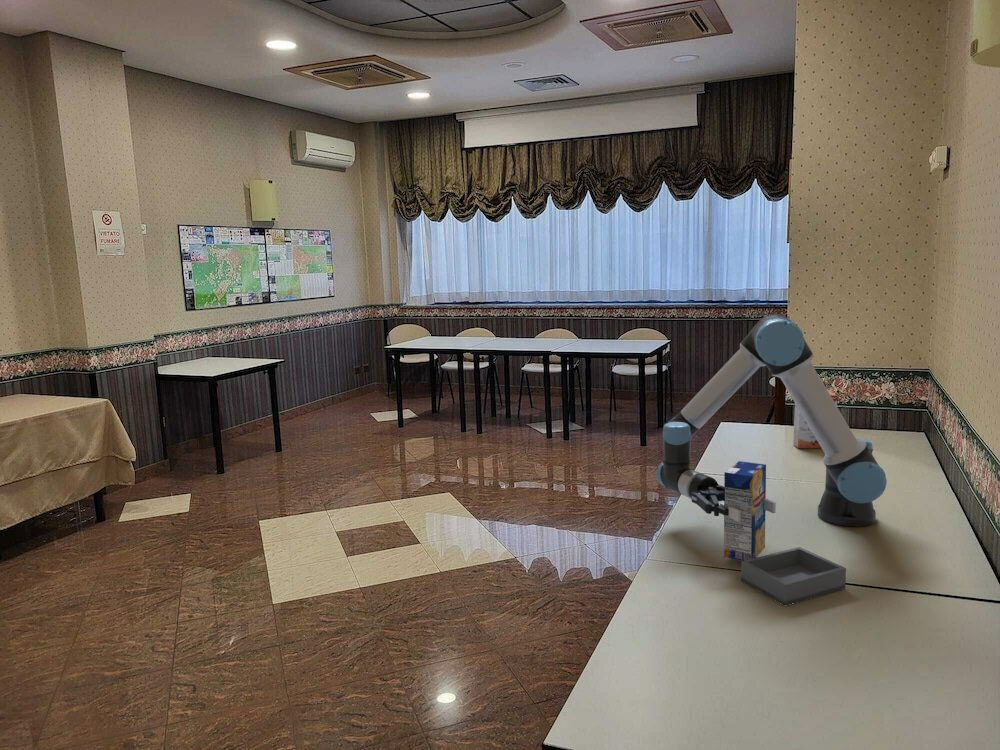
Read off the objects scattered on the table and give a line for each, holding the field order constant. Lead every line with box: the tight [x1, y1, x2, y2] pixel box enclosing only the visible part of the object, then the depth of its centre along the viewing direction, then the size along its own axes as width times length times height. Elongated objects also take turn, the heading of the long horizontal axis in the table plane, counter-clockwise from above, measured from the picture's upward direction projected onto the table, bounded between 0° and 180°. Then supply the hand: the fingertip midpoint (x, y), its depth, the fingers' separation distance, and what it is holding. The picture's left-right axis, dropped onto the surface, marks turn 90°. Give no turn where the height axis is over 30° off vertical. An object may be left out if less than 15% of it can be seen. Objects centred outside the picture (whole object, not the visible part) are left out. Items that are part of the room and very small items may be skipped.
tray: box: [740, 546, 847, 606], centre depth 173 cm, size 18×14×5 cm
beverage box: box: [723, 460, 767, 562], centre depth 186 cm, size 7×11×22 cm, turn 144°
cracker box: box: [792, 391, 838, 449], centre depth 284 cm, size 14×6×21 cm, turn 88°
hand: (757, 511), depth 182 cm, fingers closed on beverage box, 10 cm apart
